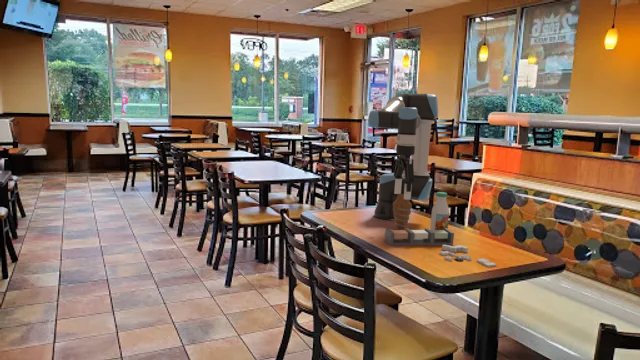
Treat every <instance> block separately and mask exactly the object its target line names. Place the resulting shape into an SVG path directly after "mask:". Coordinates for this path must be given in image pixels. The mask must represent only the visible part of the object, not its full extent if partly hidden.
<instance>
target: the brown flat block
mask: <svg viewBox="0 0 640 360" xmlns="http://www.w3.org/2000/svg"><path fill="white" fill-rule="evenodd" d="M390 230H391V231H392V232H393V233H394V239H408V233H407V232H406V231H405V229H404V230H399V229H390Z"/></svg>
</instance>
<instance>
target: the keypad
mask: <svg viewBox="0 0 640 360" xmlns="http://www.w3.org/2000/svg"><path fill="white" fill-rule="evenodd" d="M384 229H385V231H384V241H385V243H387V244H388V245H389V247H396V246H398V247H402V246H406V247H408V246H410V247H411V246H413V247H415V246H420V247H421V246H422V245H427V247H428V246H442V245H449V246H454V239H455V232H454V231H452V230H450V228H448V229H447V228H444V231H446V232H447V233H448V238H443V239H434V232H432V231H431V230H430V228H428V227H424V230H425V231H426V232H427V233H428V239H414V233H413V232H412V231H411V230H412V229H410V228H408V227H406V228H405V229H404V230H405V231H406V232H407V233H408V239H394V233H393V232H392V231H391V230H392V229H390V228H388V227H385V228H384Z"/></svg>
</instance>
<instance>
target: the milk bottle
mask: <svg viewBox="0 0 640 360" xmlns="http://www.w3.org/2000/svg"><path fill="white" fill-rule="evenodd" d="M447 197H448V193H447V192H445V191H437V192H436V199H435V202H434V204H433V206H432V209H431V216H430V217H431V219H430V226H429V227H430V228H429V230H444V228H447V229H449V217H450V216H449V215H450V210H449V205H448V203H447V199H448V198H447Z"/></svg>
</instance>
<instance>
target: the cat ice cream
mask: <svg viewBox="0 0 640 360" xmlns="http://www.w3.org/2000/svg"><path fill="white" fill-rule="evenodd" d="M397 195H398V197H397V199H396V200H395V201H394V202H393V206H394V207H393V211H394V217H395V220H394V222H395V228H396V230H405V228H407V225H408V224H409V223H408V222H409V220H410V215H411V214H412V210H411V209H412V208H413V205H412V202H410V200H409V199H404V194H397Z"/></svg>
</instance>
